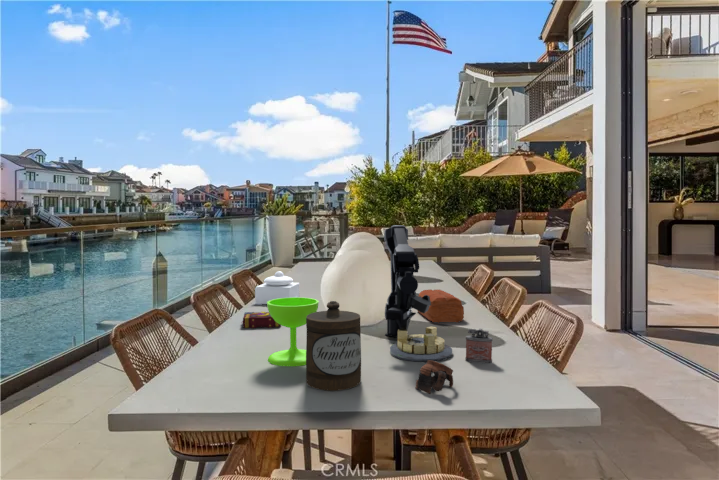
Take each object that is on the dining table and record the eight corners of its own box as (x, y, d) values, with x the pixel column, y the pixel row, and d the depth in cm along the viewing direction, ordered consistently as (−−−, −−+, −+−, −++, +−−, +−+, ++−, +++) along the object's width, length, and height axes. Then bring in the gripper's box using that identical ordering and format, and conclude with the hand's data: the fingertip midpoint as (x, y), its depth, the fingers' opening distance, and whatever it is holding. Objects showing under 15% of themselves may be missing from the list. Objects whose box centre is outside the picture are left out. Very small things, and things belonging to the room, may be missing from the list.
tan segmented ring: (427, 356, 157) (427, 338, 157) (388, 348, 167) (388, 331, 167) (455, 345, 170) (456, 329, 170) (418, 338, 180) (418, 322, 180)
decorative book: (281, 328, 205) (281, 315, 205) (239, 329, 203) (239, 316, 203) (281, 321, 216) (281, 310, 216) (242, 323, 214) (242, 311, 214)
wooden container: (316, 394, 130) (316, 308, 129) (299, 377, 144) (298, 298, 143) (370, 386, 136) (370, 303, 135) (348, 370, 150) (348, 295, 149)
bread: (446, 310, 241) (446, 287, 240) (466, 322, 214) (466, 297, 214) (414, 311, 239) (414, 288, 238) (430, 323, 212) (430, 298, 212)
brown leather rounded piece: (408, 386, 138) (419, 357, 140) (438, 400, 139) (449, 371, 141) (423, 389, 126) (435, 358, 129) (457, 405, 128) (468, 373, 130)
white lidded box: (255, 304, 255) (254, 272, 254) (267, 298, 273) (267, 268, 272) (289, 305, 252) (289, 273, 252) (299, 299, 270) (299, 269, 269)
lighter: (492, 361, 159) (493, 328, 159) (491, 364, 156) (492, 331, 155) (466, 358, 162) (466, 327, 161) (464, 361, 159) (465, 329, 158)
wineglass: (277, 369, 151) (276, 308, 150) (261, 355, 165) (260, 299, 164) (327, 361, 158) (327, 303, 157) (307, 349, 172) (307, 295, 171)
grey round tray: (378, 355, 165) (378, 342, 165) (407, 342, 182) (407, 330, 182) (437, 365, 154) (437, 351, 154) (461, 350, 171) (461, 337, 171)
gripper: (417, 295, 158) (418, 345, 160) (436, 285, 175) (436, 330, 176) (384, 292, 163) (384, 341, 165) (406, 283, 180) (406, 327, 181)
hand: (404, 334), depth 172 cm, fingers closed
